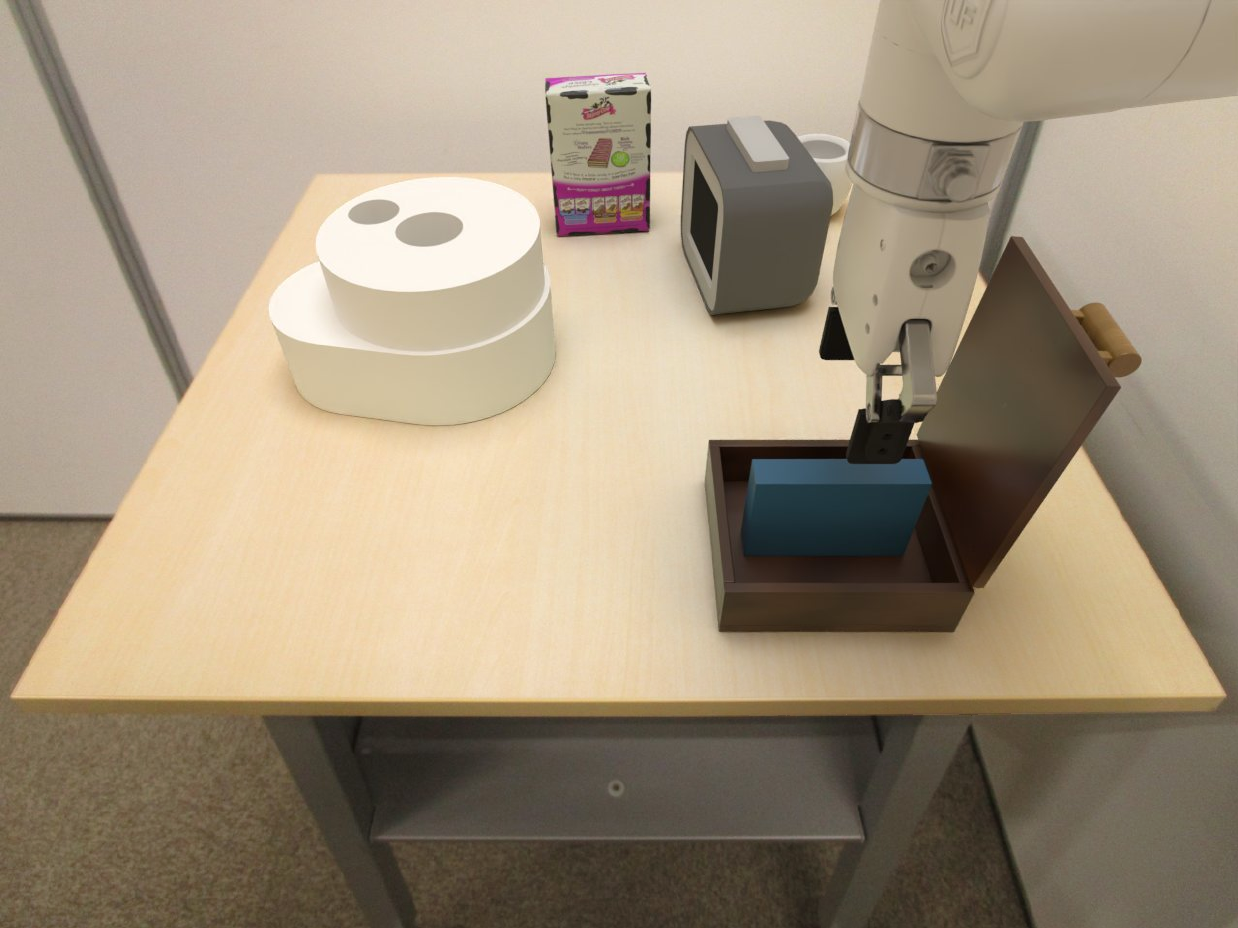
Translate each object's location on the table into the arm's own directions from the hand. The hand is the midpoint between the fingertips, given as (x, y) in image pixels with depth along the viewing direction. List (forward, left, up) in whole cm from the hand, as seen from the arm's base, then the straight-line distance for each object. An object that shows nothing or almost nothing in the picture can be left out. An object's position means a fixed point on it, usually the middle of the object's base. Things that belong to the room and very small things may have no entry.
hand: (856, 405), depth 52 cm
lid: (-6, -7, -1) cm, 9 cm away
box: (0, 0, -15) cm, 15 cm away
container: (+40, +11, -15) cm, 44 cm away
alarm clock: (+30, -23, -15) cm, 40 cm away
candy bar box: (+49, -18, -15) cm, 54 cm away
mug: (+34, -38, -15) cm, 53 cm away
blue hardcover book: (0, 0, -14) cm, 14 cm away
